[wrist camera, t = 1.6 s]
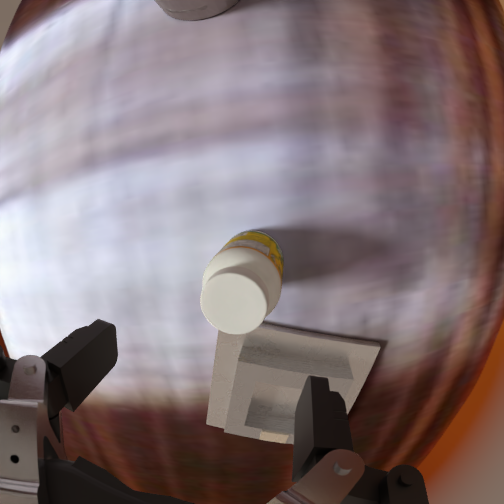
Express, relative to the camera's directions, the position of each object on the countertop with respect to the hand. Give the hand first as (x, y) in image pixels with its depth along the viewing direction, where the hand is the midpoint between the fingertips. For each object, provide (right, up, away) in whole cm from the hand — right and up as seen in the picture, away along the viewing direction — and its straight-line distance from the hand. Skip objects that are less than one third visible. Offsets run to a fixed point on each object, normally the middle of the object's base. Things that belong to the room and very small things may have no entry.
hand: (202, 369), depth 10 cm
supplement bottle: (+2, +4, +15) cm, 16 cm away
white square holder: (+6, -11, +18) cm, 22 cm away
